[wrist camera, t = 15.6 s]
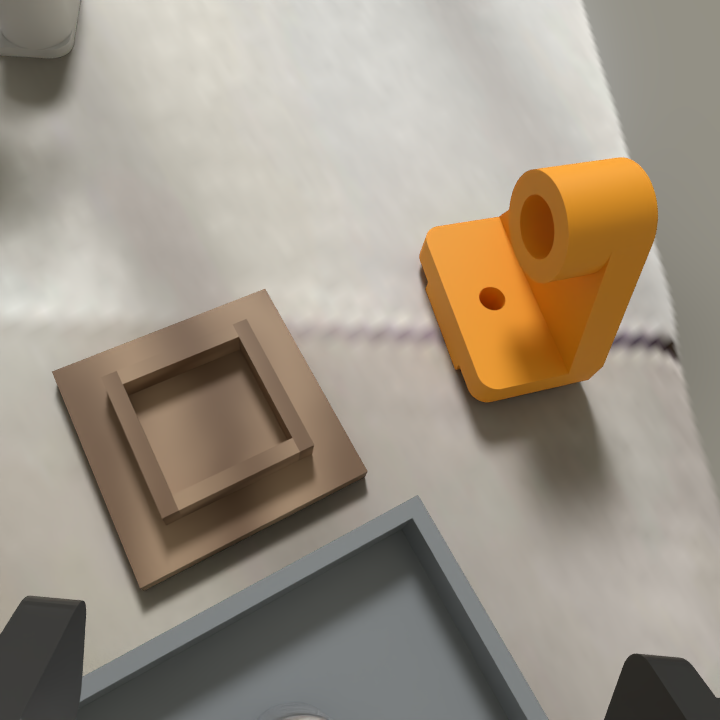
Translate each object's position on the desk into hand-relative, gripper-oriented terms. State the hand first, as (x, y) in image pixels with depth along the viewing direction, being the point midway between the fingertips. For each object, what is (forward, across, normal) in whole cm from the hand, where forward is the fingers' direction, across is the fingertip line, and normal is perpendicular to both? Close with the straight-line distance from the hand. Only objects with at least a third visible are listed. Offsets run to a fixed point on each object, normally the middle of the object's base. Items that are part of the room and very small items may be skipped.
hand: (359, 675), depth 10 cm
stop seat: (+25, +5, +8) cm, 26 cm away
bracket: (+31, -11, +1) cm, 32 cm away
